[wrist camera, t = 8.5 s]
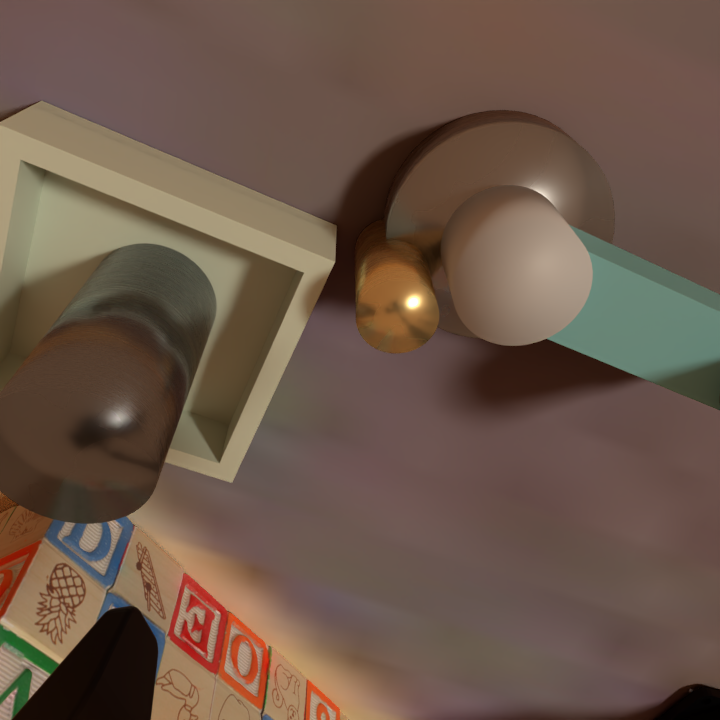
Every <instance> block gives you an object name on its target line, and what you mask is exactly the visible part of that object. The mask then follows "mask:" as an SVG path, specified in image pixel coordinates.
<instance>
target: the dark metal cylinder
mask: <svg viewBox="0 0 720 720" xmlns="http://www.w3.org/2000/svg"><path fill="white" fill-rule="evenodd" d="M216 311H217V302H216V296H215V293H214V290H213V287H212V285H211V283H210V281H209V279H208V278H207V276H206V274H205V273H204V272H203V271H202V270H201V268H200V267H199V266H198V265H197V264H196V263H195V262H193V261H192V260H191V259H189V258H188V257H187V256H185V255H183V254H182V253H180V252H178V251H176V250H174V249H171V248H168V247H165V246H162V245H157V244H148V243H140V244H132V245H127V246H124V247H121V248H119V249H117V250H115V251H113V252H112V253H110V254H109V255H107V256H106V257H105V258H104V259H103V260H102V261H101V263H100V264H99V265H98V267H97V268H96V269H95V270H94V272H93V273H92V274H91V276H90V277H89V278H88V280H87V281H86V282H85V283H84V285H83V286H82V287H81V289H80V290H79V291H78V292H77V294H76V295H75V296H74V298H73V299H72V300H71V302H70V303H69V304H68V305H67V307H66V308H65V309H64V311H63V312H62V313H61V314H60V316H59V317H58V318H57V320H56V321H55V322H54V324H53V325H52V326H51V327H50V329H49V330H48V331H47V333H46V334H45V335H44V336H43V338H42V339H41V340H40V342H39V343H38V344H37V346H36V347H35V348H34V349H33V351H32V352H31V353H30V355H29V356H28V357H27V358H26V360H25V361H24V362H23V364H22V365H21V366H20V368H19V369H18V370H17V371H16V373H15V374H14V375H13V377H12V378H11V379H10V380H9V382H8V383H7V384H6V386H5V387H4V388H3V390H2V391H1V392H0V491H1V492H2V493H3V494H4V495H6V496H7V497H8V498H9V499H11V500H12V501H14V502H15V503H17V504H18V505H20V506H22V507H24V508H26V509H28V510H29V511H32V512H34V513H36V514H39V515H41V516H44V517H48V518H51V519H54V520H59V521H63V522H70V523H80V524H94V523H103V522H109V521H113V520H117V519H120V518H122V517H125V516H127V515H129V514H131V513H133V512H135V511H136V510H137V509H139V508H140V507H141V506H142V505H143V504H145V503H146V502H147V500H148V499H149V498H150V496H151V495H152V493H153V491H154V489H155V487H156V484H157V482H158V479H159V476H160V473H161V470H162V467H163V465H164V462H165V459H166V456H167V453H168V451H169V448H170V445H171V442H172V439H173V436H174V434H175V431H176V428H177V425H178V422H179V420H180V417H181V414H182V411H183V408H184V405H185V403H186V400H187V397H188V394H189V391H190V389H191V386H192V383H193V380H194V377H195V375H196V372H197V369H198V366H199V363H200V360H201V358H202V355H203V352H204V349H205V346H206V344H207V341H208V338H209V335H210V332H211V329H212V327H213V324H214V321H215V317H216Z"/></svg>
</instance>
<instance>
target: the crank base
mask: <svg viewBox="0 0 720 720" xmlns="http://www.w3.org/2000/svg"><path fill="white" fill-rule="evenodd" d="M503 185H515V186H522V187H527V188H530V189H532V190H535V191H537V192H538V193H540V194H542V195H543V196H544V197H546V198H547V199H548V200H549V201H550V202H551V203H552V204H553V205H554V207H555V208H556V209H557V210H558V212H559V213H560V214H561V216H562V217H563V218H564V219H565V221H566V222H567V223H568V224H569V225H571V226H573V227H575V228H577V229H579V230H582V231H584V232H586V233H588V234H590V235H592V236H595V237H597V238H599V239H601V240H603V241H605V242H607V243H610V244H612V239H613V234H614V224H615V212H614V202H613V198H612V194H611V190H610V187H609V184H608V182H607V180H606V177H605V175H604V173H603V172H602V170H601V169H600V167H599V165H598V164H597V162H596V161H595V160H594V159H593V158H592V157H591V155H590V154H589V153H588V152H587V151H586V150H585V149H584V148H582V147H581V146H580V145H579V144H578V143H577V142H576V141H575V140H573V139H572V138H571V137H570V136H569V135H568V134H566V133H565V132H564V131H563V130H562V129H560V128H559V127H557V126H556V125H554V124H552V123H551V122H549V121H547V120H545V119H543V118H540V117H538V116H535V115H532V114H528V113H524V112H519V111H509V110H496V111H486V112H480V113H475V114H471V115H468V116H465V117H462V118H459V119H457V120H455V121H453V122H450V123H448V124H446V125H445V126H443V127H441V128H440V129H438V130H437V131H435V132H433V133H432V134H431V135H430V136H428V137H427V138H426V139H425V140H423V141H422V142H421V143H420V144H419V145H418V146H417V147H416V148H415V149H414V150H413V151H412V152H411V153H410V155H409V156H408V157H407V159H406V160H405V161H404V163H403V164H402V166H401V167H400V169H399V171H398V173H397V174H396V176H395V178H394V180H393V183H392V185H391V188H390V190H389V194H388V197H387V201H386V206H385V214H384V219H381V220H378V221H375V222H373V223H371V224H370V225H368V226H367V227H366V228H365V229H364V230H363V231H362V232H361V234H360V235H359V237H358V239H357V241H356V245H355V292H356V324H357V328H358V331H359V333H360V335H361V336H362V337H363V339H364V340H365V341H366V342H367V343H368V344H369V345H371V346H372V347H374V348H376V349H378V350H380V351H383V352H388V353H404V352H409V351H412V350H415V349H417V348H419V347H420V346H422V345H423V344H425V343H426V342H427V341H428V340H429V339H430V338H431V337H432V336H433V334H434V333H435V331H436V329H437V327H439V328H441V329H443V330H445V331H448V332H451V333H454V334H457V335H461V336H466V337H471V338H480V337H478V336H477V335H475V334H474V333H472V332H471V331H470V330H469V329H468V328H467V327H466V326H465V325H464V323H463V322H462V321H461V319H460V317H459V316H458V314H457V311H456V309H455V305H454V302H453V299H452V295H451V292H450V288H449V285H448V281H447V278H446V274H445V271H444V267H443V264H442V260H441V240H442V235H443V232H444V229H445V227H446V225H447V223H448V221H449V219H450V218H451V216H452V214H453V213H454V212H455V211H456V210H457V208H458V207H459V206H460V205H462V204H463V203H464V202H465V201H466V200H468V199H469V198H470V197H472V196H473V195H475V194H477V193H479V192H481V191H483V190H486V189H489V188H492V187H497V186H503Z"/></svg>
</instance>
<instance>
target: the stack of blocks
mask: <svg viewBox="0 0 720 720" xmlns="http://www.w3.org/2000/svg"><path fill="white" fill-rule="evenodd" d="M183 572H184V571H183V568H182V567H181V566H180V565H179V564H177V563H176V562H175V561H174V560H173V559H172V558H171V557H170V556H169V555H167V554H166V553H165V552H164V551H163V550H162V549H161V548H160V547H159V546H157V545H156V544H155V543H154V542H153V541H152V540H151V539H150V538H149V537H148V536H146V535H145V534H144V533H143V532H142V531H141V530H140V529H139V528H138V527H136V526H134V525H133V524H132V523H131V521H130V520H129V519H128V518H127V517H126V516H125V517H122V518H120V519H117V520H113V521H109V522H103V523H94V524H80V523H70V522H63V521H59V520H54V519H51V518H48V517H44V516H41V515H39V514H36V513H34V512H32V511H29V510H28V509H26V508H24V507H22V506H20V505H19V506H14V507H12V508H10V509H8V510H6V511H4V512H2V513H0V720H11V719H12V718H13V717H14V716H15V715H16V714H17V713H18V711H19V710H20V709H21V708H22V707H23V706H24V705H25V703H26V702H27V701H28V700H29V699H30V698H31V697H32V695H33V694H34V693H35V692H36V691H37V690H38V689H39V687H40V686H41V685H42V684H43V683H44V682H45V680H46V679H47V678H48V677H49V676H50V675H51V674H52V672H53V671H54V670H55V669H56V668H57V667H58V666H59V664H60V663H61V662H62V661H63V660H64V659H65V658H66V656H67V655H68V654H69V653H70V652H71V651H72V650H73V648H74V647H75V646H76V645H77V644H78V643H79V642H80V640H81V639H82V638H83V637H84V636H85V635H86V633H87V632H88V631H89V630H90V629H91V628H92V627H93V625H94V624H95V623H96V622H97V621H98V620H99V619H100V617H101V616H102V615H103V614H104V613H105V612H107V611H108V610H110V609H113V608H119V607H126V606H135V607H137V608H138V609H139V610H140V611H141V613H142V615H143V617H144V618H145V620H146V622H147V623H148V625H149V627H150V628H151V630H152V632H153V634H154V635H155V637H156V640H157V643H158V661H157V670H156V679H155V688H154V697H153V706H152V715H151V720H349V719H348V718H347V717H346V716H345V715H344V714H343V713H342V712H341V711H340V709H339V708H338V707H337V706H336V705H335V704H334V703H333V702H332V701H331V700H330V699H328V698H327V697H326V696H325V695H324V694H323V693H322V692H321V691H320V690H319V689H318V688H317V687H315V686H314V685H313V684H312V683H311V682H310V681H309V680H307V679H306V678H305V676H304V675H302V674H301V673H300V672H299V671H298V670H297V669H296V668H295V667H294V666H293V665H292V664H291V663H290V662H289V661H288V660H286V659H285V658H284V657H283V656H282V655H281V654H280V653H279V652H278V651H277V650H275V649H274V648H273V647H269V646H267V645H266V644H265V643H264V641H263V640H262V639H260V638H258V637H257V636H256V635H255V634H254V633H253V632H252V631H251V630H250V629H249V628H248V627H246V626H245V625H244V624H243V623H242V622H241V621H240V620H239V619H238V618H236V617H235V616H234V615H233V614H232V613H230V612H228V611H226V610H225V608H224V607H223V606H222V605H221V604H220V603H218V602H217V601H216V600H215V599H214V598H213V597H212V596H211V595H210V594H209V593H208V592H207V591H205V590H204V589H203V588H202V587H200V586H199V584H198V583H196V582H195V581H194V580H193V579H192V578H191V577H190V576H189V575H187V574H185V573H183Z"/></svg>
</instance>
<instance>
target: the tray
mask: <svg viewBox="0 0 720 720" xmlns="http://www.w3.org/2000/svg"><path fill="white" fill-rule="evenodd" d="M336 232H337V225H334V224H332V223H330V222H327V221H325V220H322V219H320V218H318V217H315V216H313V215H311V214H308V213H306V212H304V211H301V210H299V209H296V208H294V207H292V206H289V205H287V204H285V203H282V202H280V201H278V200H275V199H273V198H270V197H268V196H266V195H263V194H261V193H259V192H256V191H254V190H252V189H249V188H247V187H244V186H242V185H240V184H237V183H235V182H233V181H230V180H228V179H226V178H223V177H221V176H218V175H216V174H214V173H211V172H209V171H207V170H204V169H202V168H200V167H197V166H195V165H192V164H190V163H188V162H185V161H183V160H181V159H178V158H176V157H173V156H171V155H169V154H166V153H164V152H162V151H159V150H157V149H155V148H152V147H150V146H147V145H145V144H143V143H140V142H138V141H136V140H133V139H131V138H129V137H126V136H124V135H121V134H119V133H117V132H114V131H112V130H110V129H107V128H105V127H103V126H100V125H98V124H95V123H93V122H91V121H88V120H86V119H84V118H81V117H79V116H77V115H74V114H72V113H69V112H67V111H65V110H62V109H60V108H58V107H55V106H53V105H51V104H48V103H46V102H43V101H40V102H38V103H36V104H34V105H32V106H30V107H28V108H26V109H24V110H22V111H21V112H19V113H17V114H15V115H13V116H11V117H9V118H7V119H5V120H3V121H1V122H0V392H1V391H2V390H3V388H4V387H5V386H6V384H7V383H8V382H9V380H10V379H11V378H12V377H13V375H14V374H15V373H16V371H17V370H18V369H19V368H20V366H21V365H22V364H23V362H24V361H25V360H26V358H27V357H28V356H29V355H30V353H31V352H32V351H33V349H34V348H35V347H36V346H37V344H38V343H39V342H40V340H41V339H42V338H43V336H44V335H45V334H46V333H47V331H48V330H49V329H50V327H51V326H52V325H53V324H54V322H55V321H56V320H57V318H58V317H59V316H60V314H61V313H62V312H63V311H64V309H65V308H66V307H67V305H68V304H69V303H70V302H71V300H72V299H73V298H74V296H75V295H76V294H77V292H78V291H79V290H80V289H81V287H82V286H83V285H84V283H85V282H86V281H87V280H88V278H89V277H90V276H91V274H92V273H93V272H94V270H95V269H96V268H97V267H98V265H99V264H100V263H101V261H102V260H103V259H104V258H105V257H106V256H107V255H109V254H110V253H112V252H113V251H115V250H117V249H119V248H121V247H124V246H127V245H132V244H140V243H148V244H157V245H162V246H165V247H168V248H171V249H174V250H176V251H178V252H180V253H182V254H183V255H185V256H187V257H188V258H189V259H191V260H192V261H193V262H195V263H196V264H197V265H198V266H199V267H200V268H201V270H202V271H203V272H204V273H205V274H206V276H207V278H208V279H209V281H210V283H211V285H212V287H213V290H214V293H215V296H216V302H217V311H216V317H215V321H214V324H213V327H212V329H211V332H210V335H209V338H208V341H207V344H206V346H205V349H204V352H203V355H202V358H201V360H200V363H199V366H198V369H197V372H196V375H195V377H194V380H193V383H192V386H191V389H190V391H189V394H188V397H187V400H186V403H185V405H184V408H183V411H182V414H181V417H180V420H179V422H178V425H177V428H176V431H175V434H174V436H173V439H172V442H171V445H170V448H169V451H168V453H167V456H166V459H165V462H167V463H170V464H173V465H176V466H179V467H183V468H186V469H189V470H192V471H196V472H199V473H202V474H205V475H208V476H212V477H215V478H218V479H221V480H224V481H228V482H231V483H232V481H233V479H234V477H235V475H236V473H237V471H238V469H239V466H240V464H241V462H242V460H243V458H244V456H245V454H246V452H247V449H248V447H249V445H250V443H251V441H252V439H253V437H254V434H255V432H256V430H257V428H258V426H259V424H260V422H261V419H262V417H263V415H264V413H265V411H266V409H267V407H268V404H269V402H270V400H271V398H272V396H273V394H274V392H275V390H276V387H277V385H278V383H279V381H280V379H281V377H282V375H283V372H284V370H285V368H286V366H287V364H288V362H289V360H290V357H291V355H292V353H293V351H294V349H295V347H296V345H297V342H298V340H299V338H300V336H301V334H302V332H303V330H304V328H305V325H306V323H307V321H308V319H309V317H310V315H311V313H312V310H313V308H314V306H315V304H316V302H317V300H318V298H319V295H320V293H321V291H322V289H323V287H324V285H325V283H326V280H327V278H328V276H329V274H330V272H331V270H332V268H333V265H334V263H335V255H336Z"/></svg>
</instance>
